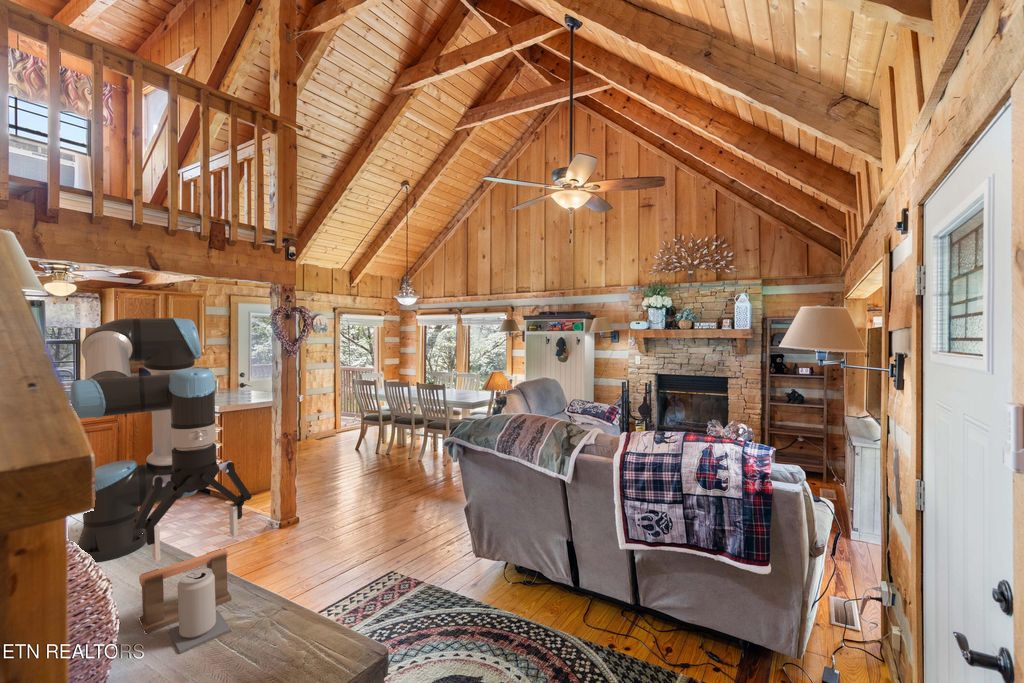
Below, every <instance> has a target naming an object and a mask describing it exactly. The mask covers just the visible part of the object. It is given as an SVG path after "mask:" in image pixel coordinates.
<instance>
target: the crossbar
mask: <svg viewBox="0 0 1024 683" xmlns="http://www.w3.org/2000/svg"><path fill="white" fill-rule="evenodd" d="M219 549H220V550H218V549H216V550H217V551H215V550H213V551H214V552H212V551H210V552H211V553H209V552H207V553H208V554H206V553H205V554H202V555H199V556H196V557H192V558H190V559H189V558H188V559H187V560H184V561H181V562H178V563H174V564H171V565H169V566H165V567H162V568H157V569H158V570H156V569H154V570H155V571H153V570H151V571H152V572H150V571H148V572H149V573H147V572H145V573H146V574H143V573H142V574H143V575H141V574H140V575H138V576H139V578H138V579H139V584H140V586H141V587H142V586H144V585H145V580H147V579H150V578H153V577H156V576H159V575H163V580H164V579H167V578H170V577H173V576H176V575H180V574H184V573H186V572H189V571H191V570H194V569H198V568H202V567H203V566H207V564H209V563H211V558H214V557H217V556H220V555H223V554H226V555H227V558H229V557H228V556H229V554H228V552H229V550H227V549H226V548H225V547H224V548H219Z"/></svg>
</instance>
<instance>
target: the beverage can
mask: <svg viewBox="0 0 1024 683" xmlns="http://www.w3.org/2000/svg"><path fill="white" fill-rule="evenodd" d="M177 602H178V612H179V621H178V626H179V633H180V635H181V636H183V637H187V638H195V637H199V636H202V635H204V634H206V633H207V632H209V631H210V630H211V628H213V626H214V625H215V623H216V610H217V608H216V607H217V606H216V605H215V576H214V574H213V573H212V569H210V568H207V567H198V568H195V569H192V570H189V571H186V572H184V573H182V575H181V576H180V577H179V582H178V583H177Z"/></svg>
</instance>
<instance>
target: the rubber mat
mask: <svg viewBox="0 0 1024 683" xmlns="http://www.w3.org/2000/svg"><path fill="white" fill-rule="evenodd" d="M230 632H232V628H231V627H230V625H229V624H228V622H227V621H226V620H225V618H224V616H223V615H222V614H221V612H220V611H219V610H218V609H216V623H215V625H214V626H213V628H211V630H210V631H209V632H207V633H206V634H204V635H202V636H199V637H195V638H187V637H183V636H181V635H180V633H179V625H176V626H175V627H172V628H170V629H168V634H169V636H170V637H171V640H172V642H173V643H174V646H175V647H176V650H177V651H178V653H179V654H183V653H185V652H188V651H189V650H192V649H194V648H196V647H199V646H201V645H203V644H205V643H207V642H210V641H213V640H215V639H217V638H219V637H222V636H224V635H225V634H227V633H230Z"/></svg>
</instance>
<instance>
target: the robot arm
mask: <svg viewBox="0 0 1024 683" xmlns="http://www.w3.org/2000/svg"><path fill="white" fill-rule="evenodd" d="M81 354H82V356H83V358H84V360H85V361H86V365H85V366H86V367H85V379H79V380H78V379H77V380H75V381H72V383H71V384H70V405H71V404H72V406H73V408H74V410H75V411H76V413H77V415H78V417H79V418H78V419H85V418H96V419H99V418H102V417H111V416H113V417H114V416H118V415H119V416H121V415H128V414H138V413H149V412H151V429H152V430H151V431H152V434H151V435H152V452H151V453H150V454H148V455H147V457H146V460H145V461H146V462H145V463H142V464H138V462H137V461H136V460H134V459H127V460H125V459H123V460H118V461H117V460H116V461H114V462H109V463H106V464H103V465H100V466H98V467H95V468H96V469H95V468H94V469H95V490H96V500H95V507H94V511H90V512H87V513H84V514H83V513H82V520H83V523H82V524H83V526H82V530H81V533H80V536H79V537H78V538H79V539H78V542H77V544H76V546H77V545H79V547H80V548H81V549H82V550H84V551H85V552H87V553H88V554H90V555H91V556H92V558H93V559H94V560H95V561H96V562H104V561H108V560H109V561H110V560H113V559H117V558H120V557H123V556H127V555H130V554H131V553H134V552H136V551H137V550H139V549H140V548H142V547H143V546H145V545H146V544H147V545H148V546H150V545H151V547H152V557H153V559H154V560H155V562H159V561H161V538H160V537H161V533H160V531H161V530H160V527H159V525H158V523H159V521H161V519H162V518H164V516H165V514H166V513H168V511H169V510H170V508H171V507H172V505H174V504H175V502H176V501H177V500H181V499H183V498H187V497H190V496H191V497H192V496H193V495H195V494H196V493H197V492H198V491H202V490H206V489H207V488H208V487H209V486H211V487H213V489H215V490H216V491H218V492H219V493H220V494H222V495H223V496H224V497H225V498H227V499H228V500H230V501H231V503H229V505H228V509H229V510H228V511H229V534H230V535H231V536H233V538H236V537H238V536H239V534H238V533H239V532H238V529H239V528H238V527H239V526H238V523H239V522H238V520H241V519H242V517H243V506H244V505H245V502H246V501H250V500H251V499H252V497H253V496H252V494H251V493H250V491H249V490H248V488H247V487H246V486H245V484H244V483H243V481H242V480H241V478H240V477H239V475H238V473H237V472H236V468H235V463H234V462H233V461H232V460H229V459H226V460H225V461H224V462H223V463H219V464H218V462H217V461H218V460H217V444H216V443H215V442H216V440H217V432H216V396H215V395H216V390H215V389H216V387H217V386H216V383H215V373H214V371H213V370H212V369H210V368H200V367H199V368H198V367H195V365H196V364H195V360H200V359H201V358H202V348H201V342H200V336H199V331H198V329H197V326H196V324H195V322H194V321H193V320H192V319H189V318H180V317H179V318H178V317H177V318H176V317H153V318H152V317H151V318H149V317H148V318H147V317H145V318H144V317H143V318H140V317H139V318H133V317H132V318H131V317H130V318H129V317H127V318H119V319H116V320H115V319H114V320H112V321H109V322H106V323H103V324H101V325H98V326H97V327H96V328H94V329H92V330H90V332H88V333H87V335H85V337H84V339H83V340H82V343H81ZM133 362H135V363H136V362H140V363H141V362H143V369H145V370H147V371H148V372H149V373H150V375H139V376H138V375H136V376H132V374H131V366H130V363H133ZM194 367H195V368H194ZM220 471H221V472H222V473H224V474H226V475H227V476H228V477H229V479H230V481H231V482H232V483H233V485H234V486H235V488H236V489H237V490H238V492H239V494H240V495H238V496H237V495H236V494H235V493H234V492H232V491H231V490H229V489H228V488H227V487H226V486H224V485H223V484H222V483H220V481H218V480H217V479H215V478H216V476H217V475H218V474H219V472H220ZM155 504H158V505H157V506H156V507H155V509H154V510H153V507H154V506H155ZM152 510H153V511H152ZM151 511H152V512H151ZM142 533H143V534H142ZM96 562H95V563H96Z"/></svg>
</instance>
